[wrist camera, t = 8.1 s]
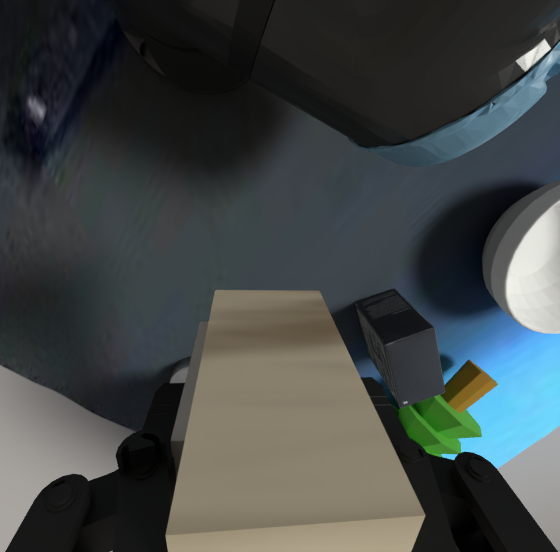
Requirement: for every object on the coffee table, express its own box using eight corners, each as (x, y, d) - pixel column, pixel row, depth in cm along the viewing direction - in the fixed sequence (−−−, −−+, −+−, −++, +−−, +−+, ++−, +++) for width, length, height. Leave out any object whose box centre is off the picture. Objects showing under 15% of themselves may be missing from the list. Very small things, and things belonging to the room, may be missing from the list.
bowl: (618, 218, 43) (702, 236, 35) (514, 320, 49) (566, 356, 41) (537, 135, 38) (615, 135, 30) (429, 262, 43) (471, 290, 35)
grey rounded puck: (168, 359, 45) (163, 374, 43) (213, 353, 46) (210, 368, 43) (179, 392, 48) (174, 408, 45) (221, 386, 48) (219, 402, 46)
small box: (409, 343, 48) (449, 394, 39) (368, 357, 49) (398, 411, 39) (397, 286, 44) (438, 327, 35) (353, 301, 44) (382, 347, 35)
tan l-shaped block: (215, 290, 15) (165, 535, 6) (319, 290, 15) (425, 515, 6) (222, 545, 23) (207, 809, 14) (289, 539, 24) (316, 790, 15)
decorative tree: (537, 419, 40) (377, 552, 47) (494, 378, 51) (370, 490, 58) (465, 361, 40) (317, 501, 47) (438, 332, 52) (321, 449, 58)
